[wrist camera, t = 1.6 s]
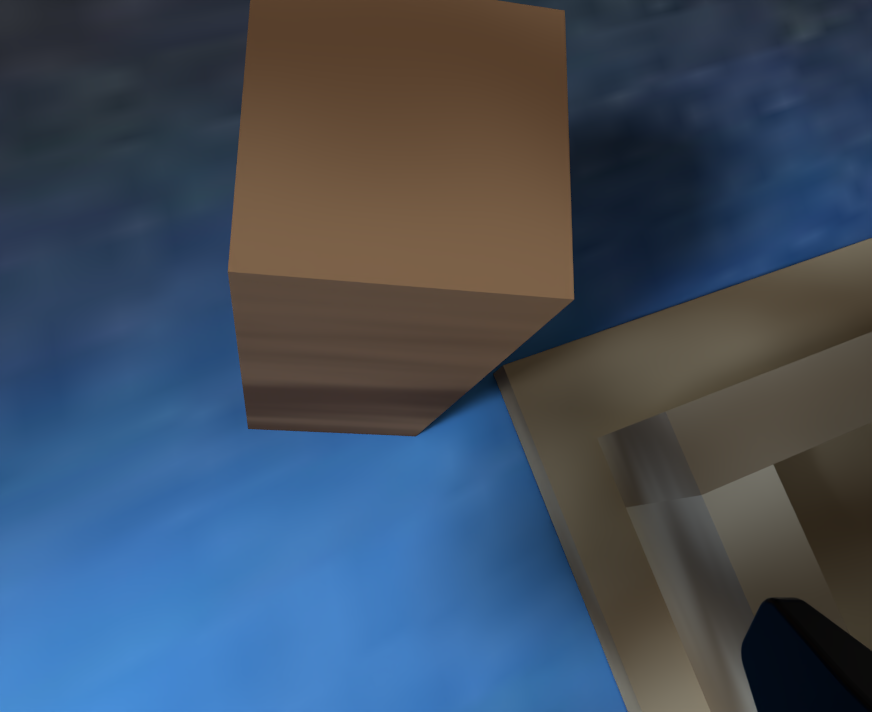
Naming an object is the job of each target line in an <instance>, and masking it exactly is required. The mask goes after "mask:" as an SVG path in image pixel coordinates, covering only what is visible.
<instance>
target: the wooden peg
mask: <svg viewBox="0 0 872 712" xmlns="http://www.w3.org/2000/svg"><path fill="white" fill-rule="evenodd" d="M228 276H229V284H230V291H231V299H232V307H233V315H234V322H235V330H236V338H237V346H238V353H239V361H240V369H241V377H242V384H243V392H244V400H245V408H246V415H247V423H248V429H264V430H286V431H309V432H332V433H354V434H377V435H399V436H417V435H418V434H419V433H420V432H421V431H422V430H424V429H425V428H426V427H427V426H428V425H429V424H431V423H432V422H433V421H434V420H435V419H436V418H438V417H439V416H440V415H441V414H442V413H443V412H444V411H446V410H447V409H448V408H449V407H450V406H451V405H453V404H454V403H455V402H456V401H457V400H458V399H460V398H461V397H462V396H463V395H464V394H465V393H466V392H468V391H469V390H470V389H471V388H472V387H473V386H475V385H476V384H477V383H478V382H479V381H480V380H482V379H483V378H484V377H485V376H486V375H487V374H488V373H490V372H491V371H492V370H493V369H494V368H495V367H497V366H498V365H499V364H500V363H501V362H502V361H504V360H505V359H506V358H507V357H508V356H509V355H510V354H512V353H513V352H514V351H515V350H516V349H517V348H519V347H520V346H521V345H522V344H523V343H524V342H526V341H527V340H528V339H529V338H530V337H531V336H532V335H534V334H535V333H536V332H537V331H538V330H539V329H541V328H542V327H543V326H544V325H545V324H546V323H547V322H549V321H550V320H551V319H552V318H553V317H554V316H556V315H557V314H558V313H559V312H560V311H561V310H563V309H564V308H565V307H566V306H567V305H568V304H569V303H571V302H572V301H573V300H574V279H573V249H572V219H571V188H570V158H569V128H568V97H567V67H566V36H565V11H563V10H556V9H550V8H543V7H537V6H530V5H524V4H517V3H510V2H504V1H497V0H250V12H249V24H248V36H247V48H246V60H245V72H244V84H243V96H242V109H241V121H240V133H239V145H238V157H237V169H236V181H235V193H234V205H233V217H232V229H231V241H230V253H229V265H228Z"/></svg>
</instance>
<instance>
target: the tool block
mask: <svg viewBox="0 0 872 712" xmlns="http://www.w3.org/2000/svg"><path fill="white" fill-rule="evenodd" d="M494 376H495V379H496V382H497V384H498V387H499V389H500V392H501V394H502V397H503V399H504V402H505V404H506V407H507V409H508V412H509V414H510V417H511V419H512V422H513V424H514V427H515V429H516V432H517V434H518V437H519V439H520V442H521V444H522V447H523V449H524V452H525V454H526V457H527V459H528V462H529V464H530V467H531V469H532V472H533V474H534V477H535V479H536V482H537V485H538V487H539V490H540V492H541V495H542V497H543V500H544V502H545V505H546V507H547V510H548V512H549V515H550V517H551V520H552V522H553V525H554V527H555V530H556V532H557V535H558V537H559V540H560V542H561V545H562V547H563V550H564V552H565V555H566V557H567V560H568V562H569V565H570V567H571V570H572V572H573V575H574V577H575V580H576V582H577V585H578V587H579V590H580V593H581V595H582V598H583V600H584V603H585V605H586V608H587V610H588V613H589V615H590V618H591V620H592V623H593V625H594V628H595V630H596V633H597V635H598V638H599V640H600V643H601V645H602V648H603V650H604V653H605V655H606V658H607V660H608V663H609V665H610V668H611V670H612V673H613V675H614V678H615V680H616V683H617V685H618V688H619V690H620V693H621V696H622V698H623V701H624V703H625V706H626V708H627V711H628V712H757V709H756V706H755V703H754V699H753V696H752V693H751V690H750V687H749V683H748V680H747V677H746V674H745V671H744V667H743V664H742V659H741V646H742V642H743V639H744V637H745V635H746V633H747V631H748V629H749V627H750V625H751V623H752V621H753V619H754V616H755V614H756V612H757V610H758V608H759V606H760V605H761V603H762V602H763V601H764V600H765V599H767V598H770V597H795V598H799V599H802V600H804V601H805V602H807V603H808V604H809V605H811V606H812V607H813V608H815V609H816V610H817V611H819V612H820V613H822V614H823V615H824V616H826V617H827V618H828V619H830V620H831V621H832V622H834V623H835V624H836V625H838V626H839V627H840V628H842V629H843V630H844V631H846V632H847V633H848V634H850V635H851V636H853V637H854V638H855V639H857V640H858V641H859V642H861V643H862V644H863V645H865V646H866V647H867V648H869V649H870V650H871V651H872V238H871V239H868V240H865V241H862V242H859V243H856V244H853V245H850V246H847V247H844V248H842V249H839V250H836V251H833V252H830V253H827V254H824V255H821V256H818V257H815V258H813V259H810V260H807V261H804V262H801V263H798V264H795V265H792V266H789V267H787V268H784V269H781V270H778V271H775V272H772V273H769V274H766V275H763V276H760V277H758V278H755V279H752V280H749V281H746V282H743V283H740V284H737V285H734V286H731V287H729V288H726V289H723V290H720V291H717V292H714V293H711V294H708V295H705V296H703V297H700V298H697V299H694V300H691V301H688V302H685V303H682V304H679V305H676V306H674V307H671V308H668V309H665V310H662V311H659V312H656V313H653V314H650V315H648V316H645V317H642V318H639V319H636V320H633V321H630V322H627V323H624V324H621V325H619V326H616V327H613V328H610V329H607V330H604V331H601V332H598V333H595V334H592V335H590V336H587V337H584V338H581V339H578V340H575V341H572V342H569V343H566V344H564V345H561V346H558V347H555V348H552V349H549V350H546V351H543V352H540V353H537V354H535V355H532V356H529V357H526V358H523V359H520V360H517V361H514V362H511V363H508V364H506V365H503V366H502V367H501V368H499V369H498V370H497V371H496V372H495V373H494Z"/></svg>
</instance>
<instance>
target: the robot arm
mask: <svg viewBox="0 0 872 712" xmlns="http://www.w3.org/2000/svg"><path fill="white" fill-rule="evenodd" d="M741 659H742V664H743V667H744V671H745V674H746V677H747V680H748V683H749V687H750V690H751V693H752V696H753V699H754V703H755V706H756V709H757V712H872V651H871V650H870V649H869V648H867V647H866V646H865V645H863V644H862V643H861V642H859V641H858V640H857V639H855V638H854V637H853V636H851V635H850V634H848V633H847V632H846V631H844V630H843V629H842V628H840V627H839V626H838V625H836V624H835V623H834V622H832V621H831V620H830V619H828V618H827V617H826V616H824V615H823V614H822V613H820V612H819V611H817V610H816V609H815V608H813V607H812V606H811V605H809V604H808V603H807V602H805V601H804V600H802V599H799V598H795V597H770V598H767V599H765V600H764V601H763V602H762V603H761V605H760V606H759V608H758V610H757V612H756V614H755V616H754V619H753V621H752V623H751V625H750V627H749V629H748V631H747V633H746V635H745V637H744V639H743V642H742V646H741Z"/></svg>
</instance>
